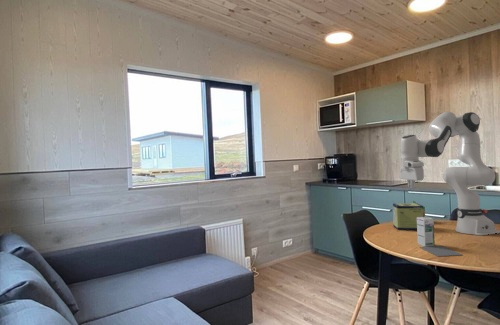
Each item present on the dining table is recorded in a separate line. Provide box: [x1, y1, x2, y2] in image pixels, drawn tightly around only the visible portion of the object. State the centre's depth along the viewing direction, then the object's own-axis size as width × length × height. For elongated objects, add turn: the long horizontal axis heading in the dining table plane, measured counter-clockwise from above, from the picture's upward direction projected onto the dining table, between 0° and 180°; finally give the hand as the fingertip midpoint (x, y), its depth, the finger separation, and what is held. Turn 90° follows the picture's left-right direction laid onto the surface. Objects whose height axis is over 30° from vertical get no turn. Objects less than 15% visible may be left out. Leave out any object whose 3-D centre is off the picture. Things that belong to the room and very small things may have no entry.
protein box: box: [392, 202, 424, 231], centre depth 205 cm, size 10×16×16 cm
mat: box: [419, 245, 463, 257], centre depth 156 cm, size 12×15×1 cm
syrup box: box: [416, 216, 436, 247], centre depth 167 cm, size 6×6×14 cm
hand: (411, 187), depth 180 cm, fingers closed
